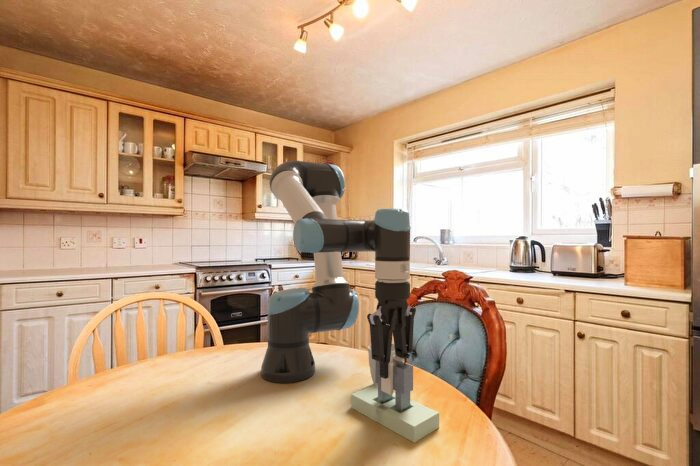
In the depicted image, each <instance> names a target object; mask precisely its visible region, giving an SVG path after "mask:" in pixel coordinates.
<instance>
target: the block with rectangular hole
mask: <svg viewBox="0 0 700 466" xmlns="http://www.w3.org/2000/svg"><path fill="white" fill-rule="evenodd" d="M350 408H351V409H353V410H355V411H357V412H359V413H360V414H362V415H364V416H365V417H367V418H369V419H371V420H373V421H374V422H376V423H378V424H380V425H381V426H384V427H385V428H388V429H389V430H391V431H393V432H395V433H396V434H398V435H400V436H401V437H403V438H405V439H406V440H408V441H411V442H413V443H416V442H418V441H420V440H421V439H422V438H424V437H426V436H427V435H430V434H431V433H433V432H434V431H435V430H437V429H439V428H440V411H437V410H434V409H432V408H430V407H427V406H425V405H423V404H421V403H419V402H416V401H415V400H413V399H412V400H411V399H410V409H408V410H406V411H404V412H402V413H400V412H398V411H396V410H395V391H393V394H392V400H391V401H388V402H386V403H384V404H381V403H379V402H378V385H376V384H375V385H374V384H373V385H371V386H368V387H366V388H362V389H361V390H358V391H355V392H353V393H351V394H350Z"/></svg>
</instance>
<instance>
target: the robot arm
mask: <svg viewBox="0 0 700 466" xmlns="http://www.w3.org/2000/svg"><path fill="white" fill-rule="evenodd" d="M268 183H269V188H270V190H271V193H272V195H274V197H275V198H276V199H278V200H279V201H281V203H282V204H283V207H284V208H285V210H286V211H287V212H288V213H287V214H288V216H290V219H291V220H292V221H293V223H294V226H293V231H292V240H293V242H294V243H293V244H294V248H295V250H297V251H298V252H300V253H310V254H313V260H314V271H315V283H314V284H313V285H312V286H311V292H310V290H309V289H308V288H305V287H298V288H296V287H295V288H294V287H293V288H288V289H282V290H280V291H276V292H274V293H272V294H271V295H270V296H269V298H268V301H267V303H268V304H267V309H266V312H267V313H266V314H267V349H265V350H266V351H265V354H264V356H263V361H262V364H261V367H260V371H261V372H260V375H261V377H262V378H263V380H266V381H268V382H271V383H279V384H288V383H297V382H300V381H305V380H307V379H310V378H311V377H312V376H313V375H314V374H315V372H316V362H315V359H314V356H313V353H312V350H311V347H310V334H316V333H326V332H332V331H342V330H345V329H349V328H352V326H354V325H355V323H356V321H357V319H358V316H359V312H360V310H359V309H360V300H359V296H358V295H357V292H356V291H355V289H351V288H350V283H349V282H348V281H347V280H346V279H345V277H344V270H343V260H342V253H344V252H345V253H347V252H349V253H351V252H353V253H355V252H356V253H359V252H366V253H367V252H371V253H373V252H374V260H375V262H374V277H375V279H376V281H375V283H374V288H375V289H374V291H375V292H374V294H375V295H374V296H375V298H376V299H377V306H376V309H375V312H373V313H368V314H367V316H366V318H367V321H368V324H369V333H370V345H371V351H372V359H373V360H376V361H379V363H380V377H381V391H383V392H385V393H388V394H390V395H392V394H393V392H394V390H393V362H390V357H391V346H392V344H394V345H395V354H396V355H397V356H393V359H394V360H397V361H400V362H403V363H406V359H409V358H410V356H411V354H409V353H412V352H413V347H414V346H413V344H414V343H413V342H414V327H415V326H414V324H415V323H414V321H415V316H416V312H417V308H416V307H414V306H413V307H412V306H410V305H409V303H408V300H409V299H411V282H410V281H409V280H410V279H411V271H410V270H411V267H410V263H411V261H410V260H411V259H410V258H411V229H412V227H411V223H410V212H409V211H408V210H407V209H405V208H380V209H377V210H376V212H375V213H374V219H371V220H370V219H369V220H368V219H367V220H365V219H362V220H361V219H360V220H359V219H338V215H337V214H338V213H337V206H338V205H339V203H341V202H340V201H341V198H343V196H344V194H345V187H346V180H345V176H344V172H343V171H342V170H341V168H340V167H339V166H338V165H336V164H332V163H327V162H322V163H321V162H314V161H313V162H311V161H304V160H303V161H302V160H288V161H285V162H282V163H280V164H279V165H278V166H277V167H275V168H274V169H273V171H272V173H271V174H270V177H269V182H268Z"/></svg>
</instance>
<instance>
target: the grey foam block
mask: <svg viewBox="0 0 700 466" xmlns="http://www.w3.org/2000/svg"><path fill="white" fill-rule="evenodd" d="M390 362H393V391H394V393H395V410H396V411H398V412H400V413H402V412H404V411H406V410H408V409H410V400H411V392H412V391H414V365H411V364H409V363H406V362H405V363H403V362H400V361H397V360H394V359H391V358H390ZM375 382H376V383H378V402H379V403H381V404H384V403H386V402H388V401H391V400H392V395H390V394H388V393H385V392H383V391H381V377H380V363H379V361H376V364H375Z"/></svg>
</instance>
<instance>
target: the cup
mask: <svg viewBox="0 0 700 466" xmlns="http://www.w3.org/2000/svg"><path fill="white" fill-rule="evenodd" d="M367 350H368V353H367V354H368V363H369V364H368V365H369V371H370V376H371V380H372V384H373V385H375V384H376V385H378V383H376V382H375V364H376V360H373V359H372V351H371V344H369V345H368V347H367ZM393 356H397V355H396V354H395V345H394V343H392V346H391V357H390V358H391V359H393Z"/></svg>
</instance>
